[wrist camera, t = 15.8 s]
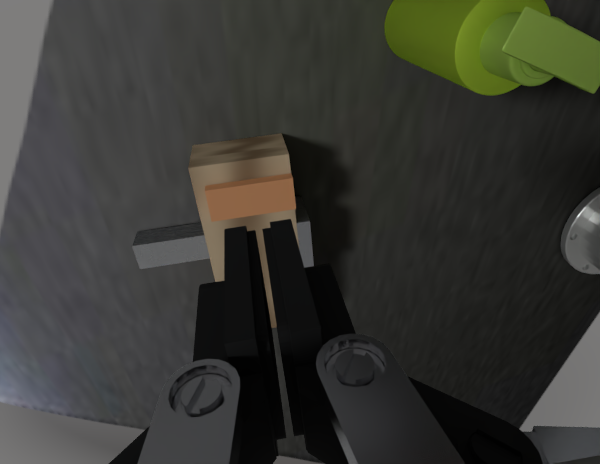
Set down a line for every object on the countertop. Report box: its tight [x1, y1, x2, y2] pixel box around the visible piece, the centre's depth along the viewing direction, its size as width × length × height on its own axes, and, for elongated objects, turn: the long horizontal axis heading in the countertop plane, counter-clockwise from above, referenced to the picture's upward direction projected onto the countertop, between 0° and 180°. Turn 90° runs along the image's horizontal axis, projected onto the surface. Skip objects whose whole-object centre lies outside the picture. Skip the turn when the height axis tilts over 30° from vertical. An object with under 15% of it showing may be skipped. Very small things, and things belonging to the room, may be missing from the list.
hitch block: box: [189, 133, 299, 328], centre depth 41 cm, size 8×18×5 cm, turn 5°
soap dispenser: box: [385, 0, 600, 95], centre depth 28 cm, size 6×7×20 cm
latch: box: [205, 173, 296, 222], centre depth 35 cm, size 7×3×1 cm, turn 95°
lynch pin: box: [132, 196, 314, 269], centre depth 41 cm, size 16×5×5 cm, turn 95°
